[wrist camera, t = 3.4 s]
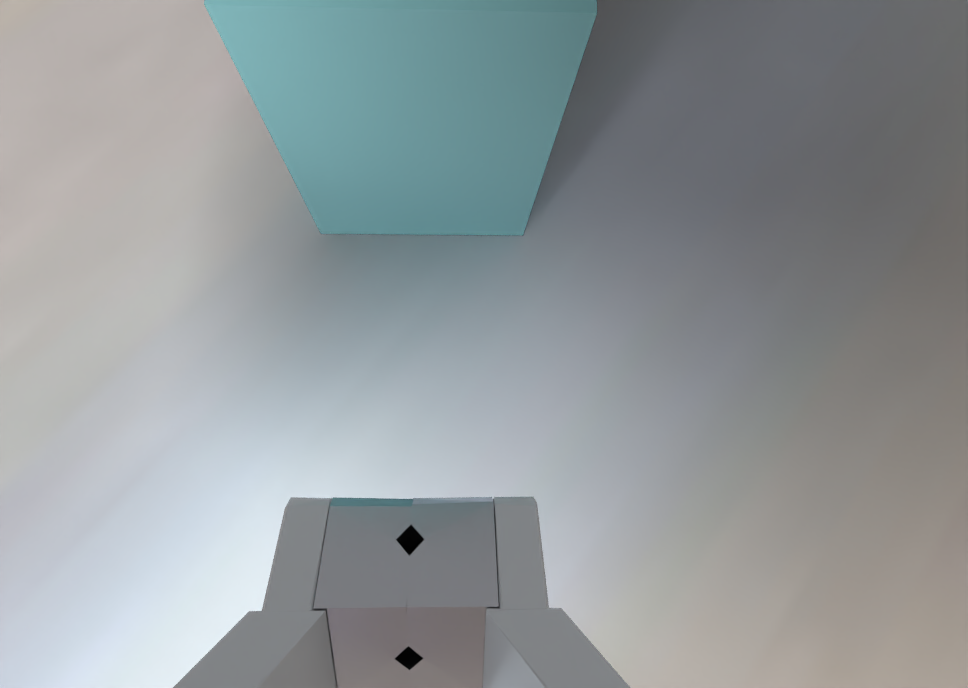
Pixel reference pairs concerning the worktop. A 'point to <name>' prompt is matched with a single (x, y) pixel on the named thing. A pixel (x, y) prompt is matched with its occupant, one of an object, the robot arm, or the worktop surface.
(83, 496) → the worktop surface
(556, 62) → the domino
